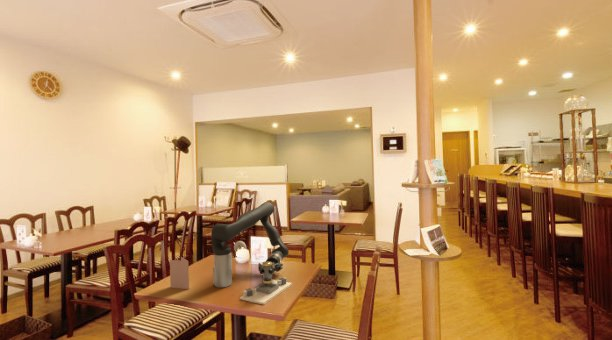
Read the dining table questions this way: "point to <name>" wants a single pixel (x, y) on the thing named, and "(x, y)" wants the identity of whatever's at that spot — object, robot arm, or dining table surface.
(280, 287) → the stand
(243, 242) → the donut
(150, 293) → the dining table surface
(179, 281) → the greeting card
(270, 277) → the cylinder
